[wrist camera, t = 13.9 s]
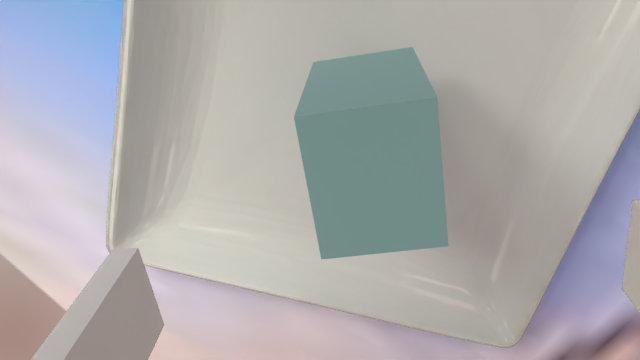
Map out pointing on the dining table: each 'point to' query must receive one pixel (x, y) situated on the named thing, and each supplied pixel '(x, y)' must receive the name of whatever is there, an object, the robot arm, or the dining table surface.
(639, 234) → the robot arm
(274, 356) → the dining table surface
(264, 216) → the square plate
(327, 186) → the teal block
